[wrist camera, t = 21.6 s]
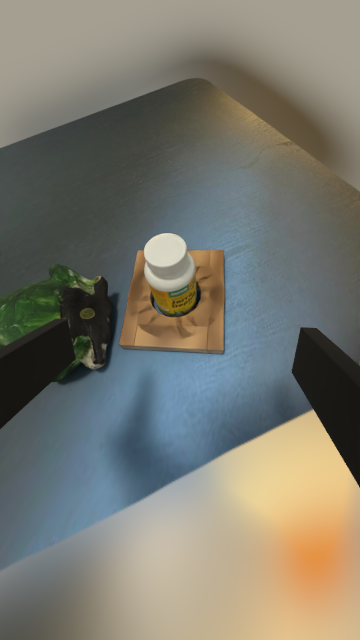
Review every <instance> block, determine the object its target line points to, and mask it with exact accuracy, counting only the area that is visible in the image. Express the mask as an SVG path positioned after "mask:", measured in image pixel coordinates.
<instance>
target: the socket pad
mask: <svg viewBox="0 0 360 640" xmlns="http://www.w3.org/2000/svg"><path fill="white" fill-rule="evenodd" d="M187 252H188V253H189V254H190V255H191V256H192V258H193V260H194V263H195V271H196V287H197V288H198V290H199V292H200V294H201V300H200V301H199V303H198V305H197V307H196V308H195V309H194V310H193V311H191V312H190V313H189V314H187V315H184V316H181V317H166V316H164V315H162V314H159V313H158V312H157V311H156V310H155V309H154V308H153V305H152V301H153V294H152V292H151V289H150V287H149V285H148V283H147V280H146V278H145V274H144V267H145V263H146V260H145V257H144V251H138V253H137V258H136V263H135V268H134V273H133V278H132V283H131V285H130V289H129V294H128V299H127V308H126V313H125V317H124V322H123V327H122V332H121V337H120V342H119V345H120V346H121V347H122V348H123V349H141V350H160V351H178V352H197V353H214V354H223V351H224V250H211V251H210V250H187Z"/></svg>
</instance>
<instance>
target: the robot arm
mask: <svg viewBox="0 0 360 640" xmlns="http://www.w3.org/2000/svg"><path fill="white" fill-rule="evenodd" d="M74 360H76V356H75V352H74V347H73V342H72V338H71V333H70V328H69V324H68V319H54V320H52V321H50V322H48V323H46V324H45V325H43V326H41V327H39V328H37V329H35V330H33V331H32V332H30V333H28V334H26V335H24V336H22V337H21V338H19V339H17V340H15V341H13V342H11V343H9V344H8V345H6V346H4V347H2V348H0V429H1V428H2V427H3V426H4V425H5V424H6V423H7V422H8V421H9V420H11V419H12V418H13V417H14V416H15V415H16V414H17V413H18V412H19V411H20V410H21V409H22V408H24V407H25V406H26V405H27V404H28V403H29V402H30V401H31V400H32V399H33V398H34V397H35V396H37V395H38V394H39V393H40V392H41V391H42V390H43V389H44V388H45V387H46V386H47V385H48V384H50V383H51V382H52V381H53V380H54V379H55V378H56V377H57V376H58V375H59V374H60V373H61V372H63V371H64V370H65V369H66V368H67V367H68V366H69V365H70V364H71V363H72V362H73V361H74ZM292 374H293V375H294V377H295V379H296V380H297V382H298V384H299V385H300V387H301V389H302V390H303V392H304V394H305V396H306V397H307V399H308V401H309V402H310V404H311V406H312V407H313V409H314V411H315V412H316V414H317V416H318V418H319V419H320V421H321V422H322V424H323V426H324V428H325V429H326V431H327V433H328V434H329V436H330V438H331V439H332V441H333V443H334V444H335V446H336V448H337V450H338V451H339V453H340V455H341V456H342V458H343V460H344V462H345V463H346V465H347V467H348V468H349V470H350V471H351V473H352V475H353V476H354V478H355V480H356V482H357V483H358V485H359V487H360V366H359V365H358V364H357V363H356V362H355V361H353V360H352V359H351V358H350V357H349V356H348V355H347V354H345V353H344V352H343V351H342V350H341V349H340V348H339V347H337V346H336V345H335V344H334V343H333V342H332V341H331V340H329V339H328V338H327V337H326V336H325V335H324V334H323V333H322V332H320V331H319V330H318V329H317V328H301V329H300V334H299V339H298V344H297V348H296V353H295V358H294V363H293V368H292Z"/></svg>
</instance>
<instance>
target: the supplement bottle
mask: <svg viewBox="0 0 360 640" xmlns="http://www.w3.org/2000/svg"><path fill="white" fill-rule="evenodd" d="M144 257H145V260H146V263H145V267H144V274H145V278H146V280H147V283H148V285H149V287H150V289H151V292H152V294H153V296H154V299H155V301H156V304H157V306H158V308H159V309H160V311H161V312H163V313H164V314H165V315H168V316H172V317H179V316H183V315H186V314H187V313H189V312H190V311H191V310H192V309H193V308H194V306H195V304H196V298H197V291H196V271H195V263H194V260H193V258H192V256H191V255H190V254H189V253H188V252H187V247H186V243H185V242H184V240H183V239H182V238H181V237H179V236H177V235H175V234H170V233H164V234H160V235H157V236H155V237H153V238H152V239H150V240H149V241H148V243H147V244H146V246H145V248H144Z"/></svg>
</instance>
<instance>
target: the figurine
mask: <svg viewBox="0 0 360 640" xmlns="http://www.w3.org/2000/svg"><path fill="white" fill-rule="evenodd" d="M49 274H50V276H51V278H50V279H49V280H46V281H40V282H37V283H33V284H30V285H27V286H25V287H23V288H21V289H19V290H17V291H15V292H13V293H11V294H8V295H5V296H2V297H0V348H2V347H4V346H6V345H8V344H9V343H11V342H13V341H15V340H17V339H19V338H21V337H22V336H24V335H26V334H28V333H30V332H32V331H33V330H35V329H37V328H39V327H41V326H43V325H45V324H46V323H48V322H50V321H52V320H54V319H68V324H69V328H70V333H71V338H72V342H73V347H74V352H75V356H76V360H74V361H73V362H72V363H71V364H70V365H69V366H68V367H67V368H66V369H65V370H64V371H63V372H61V373H60V374H59V375H58V376H57V377H56V378H55V379H54V380H53V381H52V382H56V381H60V380H62V379H63V378H65V377H66V376H67V375H68V374H69V373H70V372H72V371H73V370H74V369H76V368H77V367H78V365H79V364H80V363H84V365H85V366H86V367H88V368H91V369H97V368H100V367H102V366H103V365H104V364H105V362H106V346H107V344H108V343H109V341H110V340H111V338H112V332H111V326H110V316H111V313H112V308H113V307H112V304H111V302H110V300H109V299H108V295H107V293H108V283H107V281H106V280H105V279H104V278H103V277H102V276H97V277H95V278H94V279H92V280H89V279H86V278H84V277H83V276H81V275H79V274H78V273H76V272H75V271H73V270H71V269H70V268H68V267H66V266H62V265H58V264H54V265H51V266H50V269H49Z"/></svg>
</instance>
